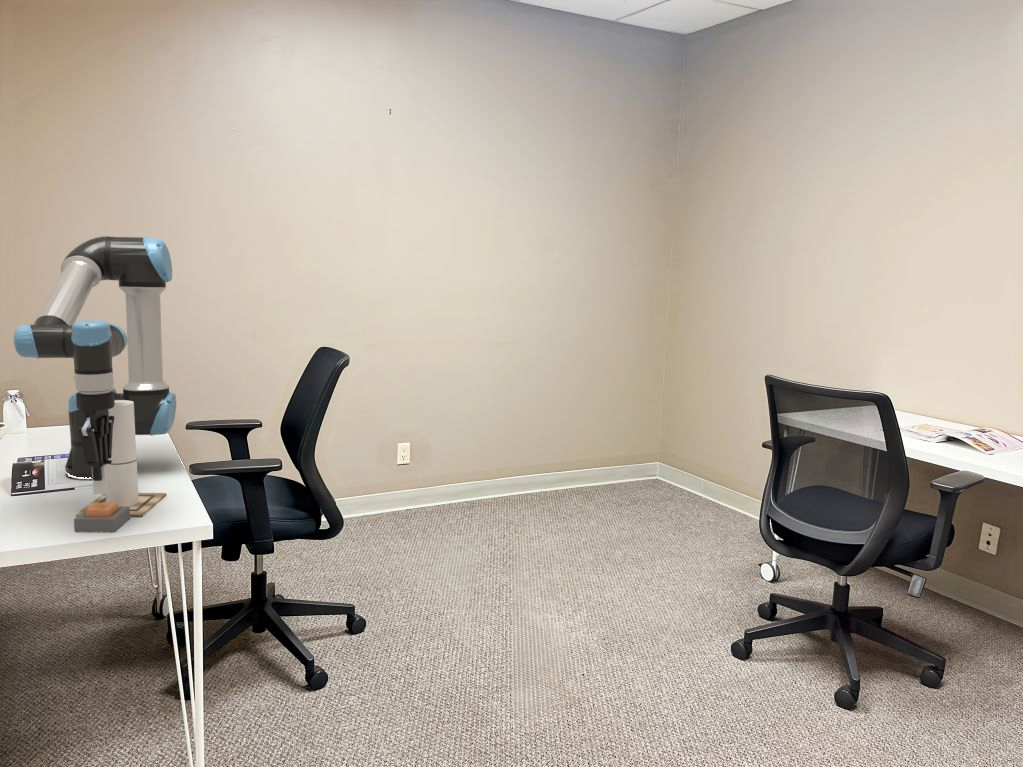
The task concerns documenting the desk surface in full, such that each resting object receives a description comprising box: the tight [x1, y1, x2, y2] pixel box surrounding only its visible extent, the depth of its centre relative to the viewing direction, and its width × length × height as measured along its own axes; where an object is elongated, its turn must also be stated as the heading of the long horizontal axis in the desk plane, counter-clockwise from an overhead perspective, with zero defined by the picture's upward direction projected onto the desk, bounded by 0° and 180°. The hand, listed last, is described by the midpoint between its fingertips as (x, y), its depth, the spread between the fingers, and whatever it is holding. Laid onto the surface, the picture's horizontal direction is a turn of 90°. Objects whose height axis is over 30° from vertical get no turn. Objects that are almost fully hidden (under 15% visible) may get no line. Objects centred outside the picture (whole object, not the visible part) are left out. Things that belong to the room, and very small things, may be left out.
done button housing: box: [73, 506, 131, 533], centre depth 179 cm, size 9×9×3 cm
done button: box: [86, 503, 118, 517], centre depth 179 cm, size 5×5×3 cm
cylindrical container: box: [106, 400, 139, 506], centre depth 190 cm, size 7×7×25 cm
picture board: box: [75, 492, 167, 518], centre depth 193 cm, size 16×15×1 cm
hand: (100, 492), depth 178 cm, fingers closed
